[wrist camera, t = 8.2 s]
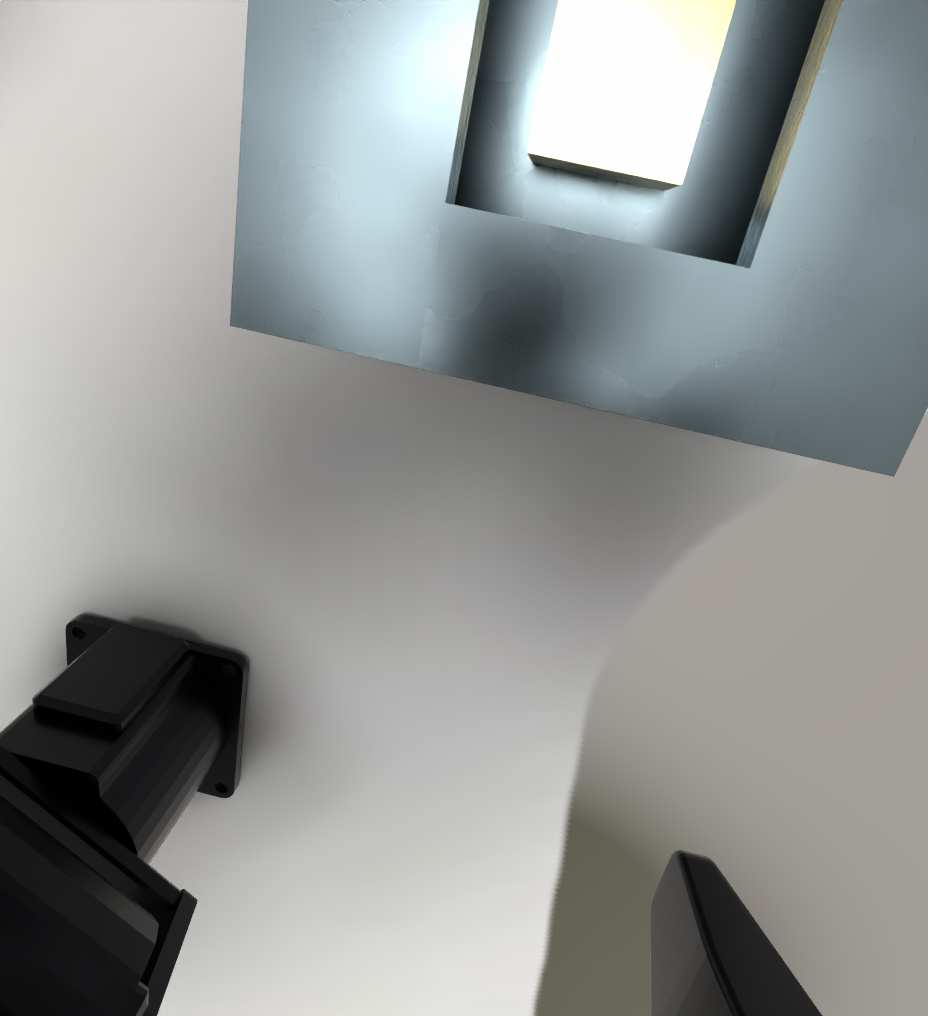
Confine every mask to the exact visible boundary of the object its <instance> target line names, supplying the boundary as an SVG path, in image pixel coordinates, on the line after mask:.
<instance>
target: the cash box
mask: <svg viewBox="0 0 928 1016" xmlns="http://www.w3.org/2000/svg"><path fill="white" fill-rule="evenodd" d="M558 3H559V0H248V15H247V33H246V51H245V69H244V87H243V105H242V122H241V140H240V158H239V176H238V194H237V212H236V230H235V247H234V265H233V283H232V301H231V319H230V326H234V327H238V328H242V329H247V330H251V331H256V332H260V333H264V334H269V335H273V336H278V337H282V338H286V339H291V340H295V341H300V342H304V343H308V344H313V345H317V346H322V347H326V348H330V349H335V350H339V351H344V352H348V353H352V354H357V355H361V356H366V357H370V358H374V359H379V360H383V361H388V362H392V363H396V364H401V365H405V366H410V367H414V368H418V369H423V370H427V371H432V372H436V373H440V374H445V375H449V376H454V377H458V378H462V379H467V380H471V381H475V382H480V383H484V384H489V385H493V386H497V387H502V388H506V389H511V390H515V391H519V392H524V393H528V394H533V395H537V396H541V397H546V398H550V399H555V400H559V401H563V402H568V403H572V404H577V405H581V406H585V407H590V408H594V409H599V410H603V411H607V412H612V413H616V414H621V415H625V416H629V417H634V418H638V419H643V420H647V421H651V422H656V423H660V424H665V425H669V426H673V427H678V428H682V429H687V430H691V431H695V432H700V433H704V434H709V435H713V436H717V437H722V438H726V439H731V440H735V441H739V442H744V443H748V444H753V445H757V446H761V447H766V448H770V449H775V450H779V451H783V452H788V453H792V454H797V455H801V456H805V457H810V458H814V459H819V460H823V461H827V462H832V463H836V464H841V465H845V466H849V467H854V468H858V469H863V470H867V471H871V472H876V473H880V474H885V475H889V476H893V477H894V475H895V473H896V471H897V469H898V467H899V465H900V463H901V461H902V459H903V457H904V455H905V453H906V451H907V449H908V446H909V444H910V442H911V440H912V438H913V436H914V434H915V432H916V430H917V428H918V426H919V424H920V422H921V420H922V418H923V416H924V413H925V411H926V409H927V407H928V0H736V3H735V6H734V10H733V13H732V17H731V20H730V23H729V27H728V30H727V34H726V37H725V40H724V44H723V47H722V51H721V54H720V57H719V61H718V64H717V68H716V71H715V74H714V78H713V81H712V85H711V88H710V91H709V95H708V98H707V101H706V105H705V108H704V112H703V115H702V118H701V122H700V125H699V129H698V132H697V135H696V139H695V142H694V146H693V149H692V152H691V156H690V159H689V163H688V166H687V169H686V173H685V176H684V180H683V183H682V185H681V186H678V187H675V188H672V189H669V190H666V191H663V190H659V189H654V188H649V187H644V186H640V185H635V184H630V183H625V182H621V181H616V180H611V179H606V178H602V177H597V176H592V175H587V174H583V173H578V172H573V171H568V170H564V169H559V168H554V167H549V166H545V165H540V164H535V163H532V161H531V159H530V157H529V155H528V153H527V152H528V147H529V142H530V137H531V133H532V128H533V123H534V118H535V113H536V108H537V104H538V99H539V94H540V89H541V84H542V80H543V75H544V70H545V65H546V60H547V56H548V51H549V46H550V41H551V36H552V31H553V27H554V22H555V17H556V12H557V7H558Z"/></svg>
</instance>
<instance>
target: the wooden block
mask: <svg viewBox="0 0 928 1016" xmlns="http://www.w3.org/2000/svg"><path fill="white" fill-rule="evenodd" d="M735 3H736V0H559V3H558V7H557V12H556V17H555V22H554V27H553V31H552V36H551V41H550V46H549V51H548V56H547V60H546V65H545V70H544V75H543V80H542V84H541V89H540V94H539V99H538V104H537V108H536V113H535V118H534V123H533V128H532V133H531V137H530V142H529V147H528V152H527V153H528V155H529V157H530V159H531V161H532V163H535V164H540V165H545V166H549V167H554V168H559V169H564V170H568V171H573V172H578V173H583V174H587V175H592V176H597V177H602V178H606V179H611V180H616V181H621V182H625V183H630V184H635V185H640V186H644V187H649V188H654V189H659V190H663V191H666V190H669V189H672V188H675V187H678V186H681V185H682V183H683V180H684V176H685V173H686V169H687V166H688V163H689V159H690V156H691V152H692V149H693V146H694V142H695V139H696V135H697V132H698V129H699V125H700V122H701V118H702V115H703V112H704V108H705V105H706V101H707V98H708V95H709V91H710V88H711V85H712V81H713V78H714V74H715V71H716V68H717V64H718V61H719V57H720V54H721V51H722V47H723V44H724V40H725V37H726V34H727V30H728V27H729V23H730V20H731V17H732V13H733V10H734V6H735Z"/></svg>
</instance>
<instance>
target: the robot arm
mask: <svg viewBox="0 0 928 1016" xmlns="http://www.w3.org/2000/svg"><path fill="white" fill-rule="evenodd" d="M81 628H82V629H83V630H84V631H85V632H84V631H82V629H81ZM66 648H67V667H66V668H65V669H64V670H63V671H62V672H61V673H60V674H59V675H57V676H56V677H55V678H54V679H53V680H52V681H51V682H50V683H48V684H47V685H46V686H45V687H44V688H43V689H42V690H40V691H39V692H38V693H37V694H36V695H35V696H34V697H33V699H32V700H33V704H32V705H30V706H29V707H28V708H27V709H26V710H25V711H24V712H23V713H22V714H20V715H19V716H18V717H17V718H16V719H15V720H14V721H13V722H12V723H10V724H9V725H8V726H7V727H6V728H5V729H4V730H3V731H1V732H0V1016H157V1014H158V1011H159V1008H160V1005H161V1003H162V1000H163V997H164V994H165V991H166V989H167V986H168V983H169V980H170V977H171V974H172V972H173V969H174V966H175V963H176V960H177V958H178V955H179V952H180V949H181V946H182V944H183V941H184V938H185V935H186V932H187V929H188V927H189V924H190V921H191V918H192V915H193V913H194V910H195V907H196V904H197V901H198V900H197V899H196V898H195V897H193V896H192V895H191V894H190V893H188V892H187V891H186V890H185V889H182V890H181V891H180V890H179V889H178V888H177V887H175V886H174V885H173V884H172V883H171V882H169V881H168V880H167V879H166V878H164V877H163V876H162V875H161V874H159V873H158V872H157V871H156V870H155V869H153V868H152V867H151V866H150V865H149V863H150V862H151V860H152V858H153V857H154V855H155V854H156V852H157V851H158V849H159V848H160V846H161V845H162V843H163V842H164V840H165V839H166V837H167V835H168V834H169V832H170V831H171V829H172V828H173V826H174V825H175V823H176V822H177V820H178V819H179V817H180V815H181V814H182V812H183V811H184V809H185V808H186V806H187V805H188V803H189V802H190V800H191V799H192V797H193V796H194V794H195V792H196V791H198V792H201V793H205V794H209V795H213V796H217V797H220V798H228V797H230V796H232V795H233V793H234V792H235V790H236V788H237V786H238V784H239V772H240V760H241V748H242V736H243V724H244V712H245V700H246V688H247V676H248V663H247V661H246V660H245V658H243V657H242V656H241V655H239V654H237V653H234V652H230V651H226V650H222V649H218V648H214V647H210V646H206V645H202V644H198V643H194V642H190V641H187V640H183V639H179V638H175V637H171V636H167V635H163V634H159V633H155V632H151V631H147V630H143V629H139V628H135V627H131V626H127V625H123V624H119V623H115V622H111V621H107V620H103V619H99V618H95V617H91V616H87V615H79V616H76V617H75V618H74V619H73V620H71V621H70V622H69V623H68V624H67V625H66ZM228 665H231V666H233V667H234V668H235V669H236V670H232V669H231V668H230V667H229V666H228ZM650 942H651V1016H822V1015H821V1013H820V1012H819V1010H818V1009H817V1008H816V1006H815V1005H814V1003H813V1002H812V1000H811V999H810V998H809V996H808V995H807V993H806V992H805V991H804V989H803V988H802V986H801V985H800V983H799V982H798V981H797V979H796V978H795V976H794V975H793V974H792V972H791V971H790V969H789V968H788V966H787V965H786V964H785V962H784V961H783V959H782V958H781V956H780V955H779V954H778V952H777V951H776V949H775V948H774V947H773V945H772V944H771V942H770V941H769V939H768V938H767V937H766V935H765V934H764V932H763V931H762V929H761V928H760V927H759V925H758V924H757V922H756V921H755V920H754V918H753V917H752V916H751V914H750V912H749V911H748V910H747V908H746V907H745V905H744V904H743V903H742V901H741V900H740V898H739V897H738V895H737V894H736V893H735V892H734V890H733V888H732V887H731V886H730V884H729V883H728V881H727V880H726V878H725V877H724V876H723V874H722V873H721V872H720V870H719V868H718V867H717V866H716V864H715V863H714V862H713V861H712V860H711V859H710V858H708V857H706V856H702V855H698V854H694V853H690V852H687V851H682V850H677V851H675V852H674V853H673V854H672V855H671V857H670V859H669V861H668V863H667V865H666V868H665V870H664V872H663V875H662V877H661V879H660V881H659V884H658V886H657V888H656V891H655V893H654V895H653V899H652V903H651V911H650Z"/></svg>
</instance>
